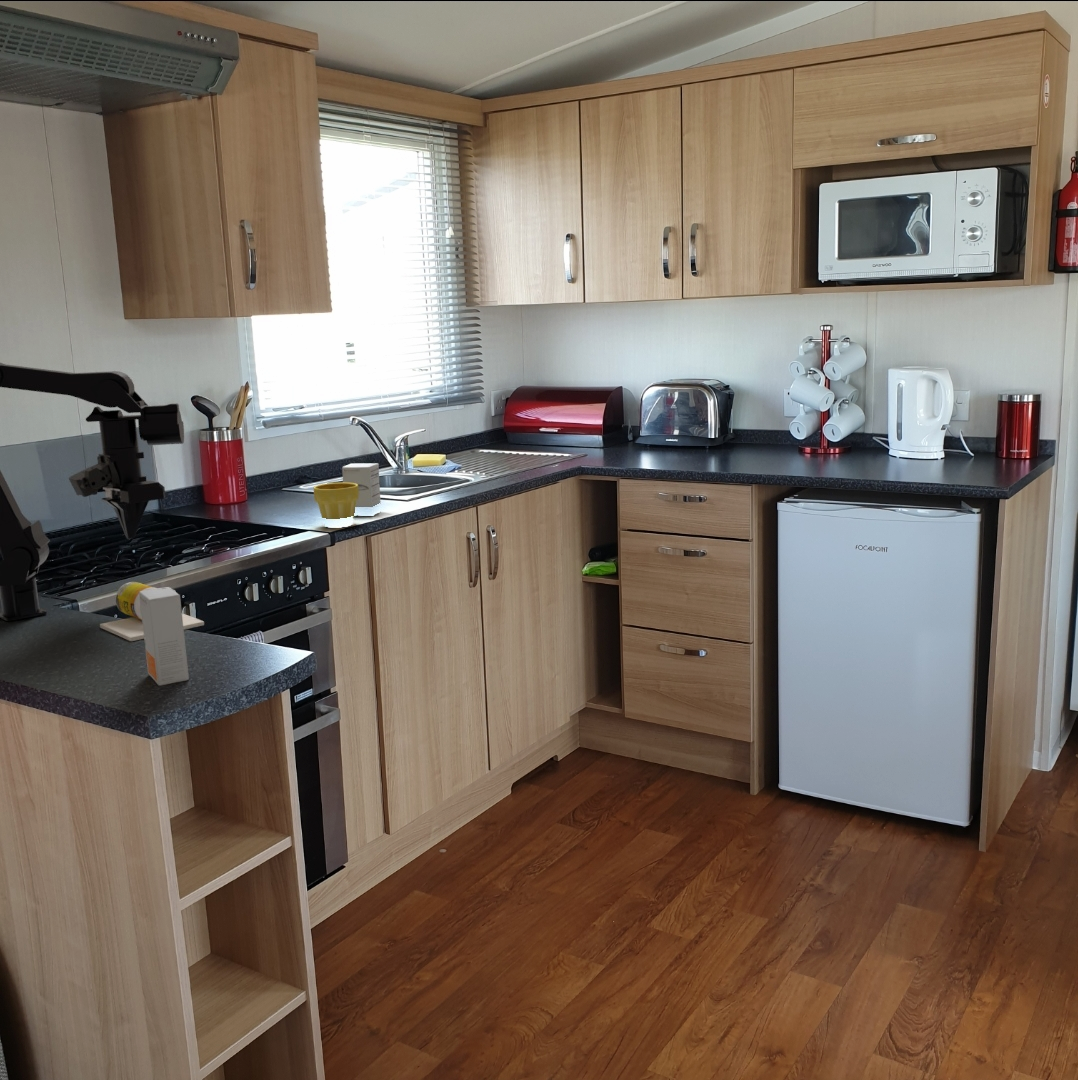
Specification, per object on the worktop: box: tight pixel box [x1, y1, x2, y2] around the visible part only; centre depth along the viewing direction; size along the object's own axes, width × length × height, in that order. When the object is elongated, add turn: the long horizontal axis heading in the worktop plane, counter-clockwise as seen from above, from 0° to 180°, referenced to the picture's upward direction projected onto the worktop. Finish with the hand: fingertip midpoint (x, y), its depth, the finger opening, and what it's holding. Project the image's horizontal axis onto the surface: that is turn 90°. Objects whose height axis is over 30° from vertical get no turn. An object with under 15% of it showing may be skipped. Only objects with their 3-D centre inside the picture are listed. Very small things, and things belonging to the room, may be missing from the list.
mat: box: [99, 612, 205, 642], centre depth 177 cm, size 12×12×1 cm
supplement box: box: [341, 462, 381, 507], centre depth 275 cm, size 7×7×13 cm
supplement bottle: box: [115, 581, 157, 620], centre depth 179 cm, size 6×6×10 cm
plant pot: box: [313, 481, 359, 519], centre depth 260 cm, size 10×10×10 cm
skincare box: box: [139, 586, 190, 686], centre depth 149 cm, size 6×4×12 cm
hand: (130, 538), depth 188 cm, fingers closed
